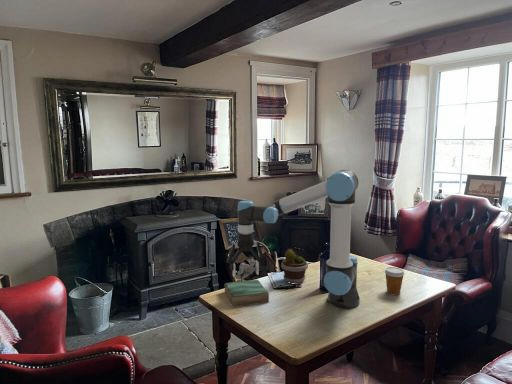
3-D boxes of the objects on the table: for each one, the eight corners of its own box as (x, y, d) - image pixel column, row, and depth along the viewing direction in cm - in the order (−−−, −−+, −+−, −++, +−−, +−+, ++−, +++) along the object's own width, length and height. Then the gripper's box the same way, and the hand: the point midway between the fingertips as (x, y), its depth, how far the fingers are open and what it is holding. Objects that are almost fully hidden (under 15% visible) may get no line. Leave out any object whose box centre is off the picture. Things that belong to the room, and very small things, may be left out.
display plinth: (268, 302, 184) (268, 292, 183) (232, 307, 179) (232, 297, 178) (258, 287, 201) (257, 278, 200) (224, 292, 196) (224, 282, 195)
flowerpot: (296, 274, 220) (296, 241, 217) (313, 282, 207) (314, 247, 204) (275, 279, 213) (275, 244, 210) (292, 288, 200) (292, 252, 197)
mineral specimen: (240, 285, 190) (252, 285, 182) (229, 276, 187) (240, 276, 179) (248, 268, 195) (260, 267, 187) (237, 259, 191) (249, 259, 184)
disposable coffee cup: (393, 297, 188) (394, 274, 187) (379, 290, 197) (380, 268, 195) (407, 294, 192) (408, 271, 190) (393, 287, 201) (394, 265, 199)
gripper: (266, 228, 192) (265, 270, 195) (220, 232, 185) (220, 274, 188) (270, 232, 184) (270, 275, 188) (223, 236, 178) (223, 280, 181)
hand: (245, 275), depth 188 cm, fingers closed on mineral specimen, 11 cm apart
